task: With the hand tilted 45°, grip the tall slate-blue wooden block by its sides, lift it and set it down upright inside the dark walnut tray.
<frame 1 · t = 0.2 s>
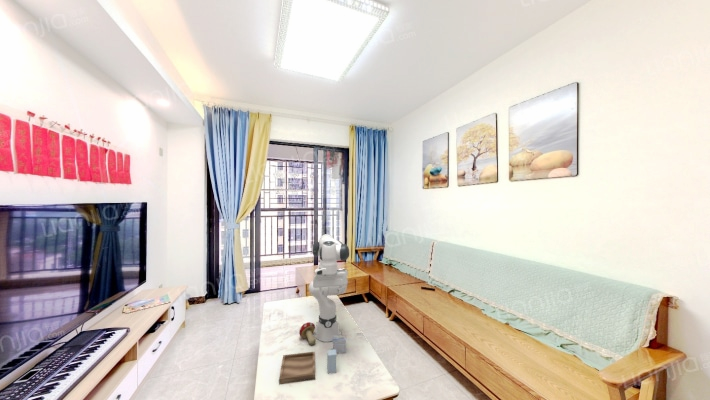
hand: (330, 293, 135), 39 cm above the table, tool pointing down, fingers open, 8 cm apart
medicine box: (339, 351, 144), on the table
walnut tray: (298, 369, 128), on the table
decorative mushroom: (308, 340, 154), on the table, touching arm
slate block: (331, 370, 128), on the table
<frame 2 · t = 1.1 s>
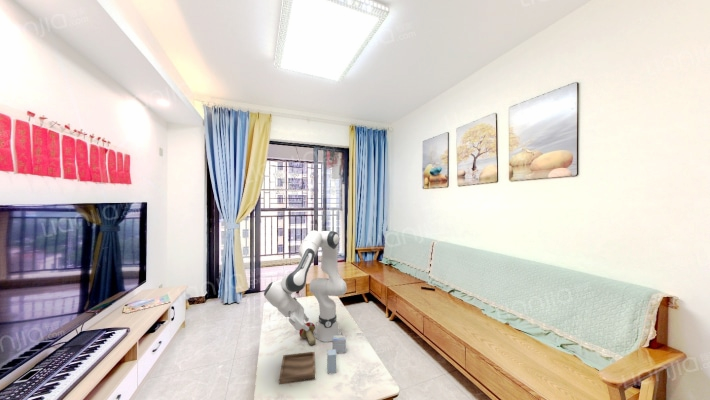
hand: (308, 324, 125), 26 cm above the table, tool tilted 45°, fingers open, 8 cm apart
nothing on the table moved.
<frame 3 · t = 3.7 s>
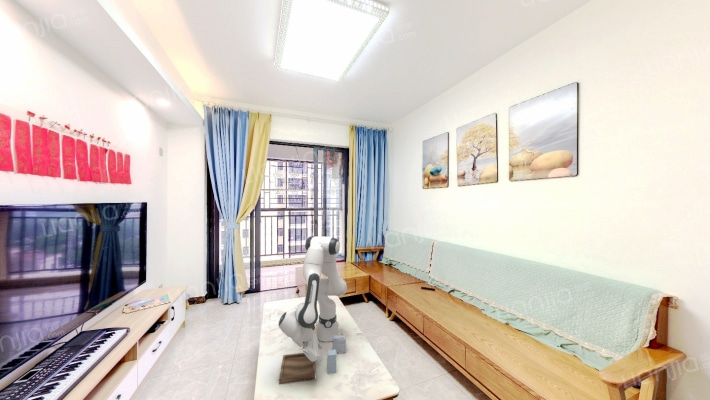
hand: (321, 353, 127), 10 cm above the table, tool tilted 45°, fingers open, 8 cm apart
nothing on the table moved.
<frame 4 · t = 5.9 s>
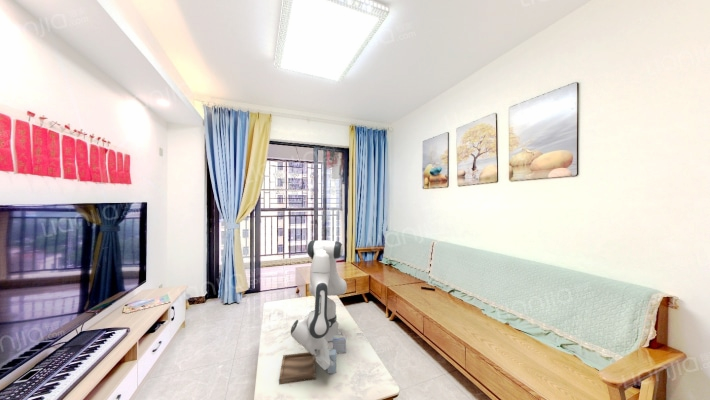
hand: (332, 360, 128), 5 cm above the table, tool tilted 45°, fingers closed on slate block, 4 cm apart
slate block: (331, 370, 128), on the table, touching gripper
everything else where it was.
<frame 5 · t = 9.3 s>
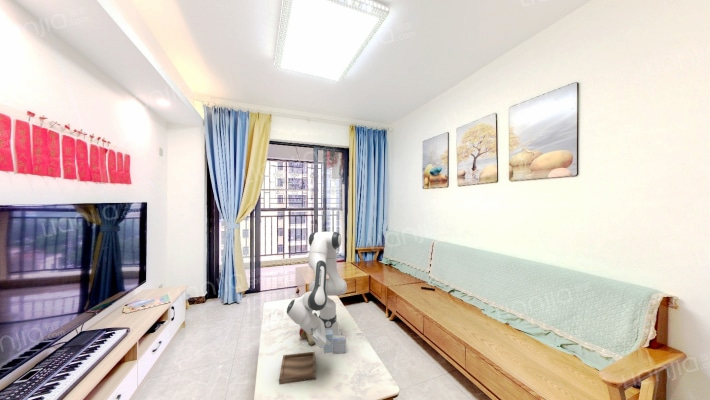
hand: (329, 340, 128), 16 cm above the table, tool tilted 45°, fingers closed on slate block, 4 cm apart
slate block: (328, 350, 128), point 11 cm above the table, touching gripper
everything else where it was.
when the fingers open (8 cm above the table, at t = 12.7 s): slate block drops 1 cm, resting on walnut tray.
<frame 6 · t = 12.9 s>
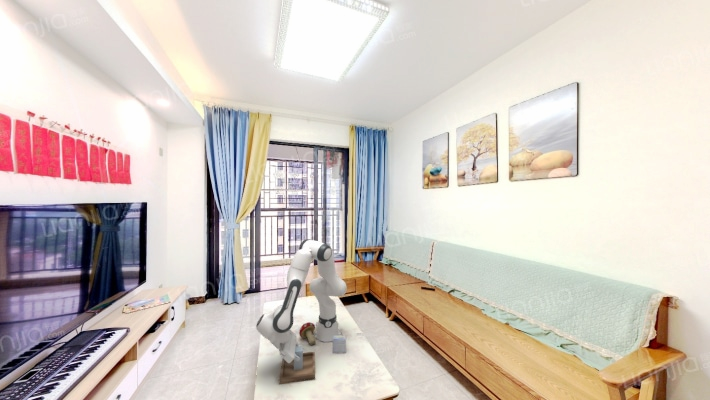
hand: (299, 354, 128), 8 cm above the table, tool tilted 45°, fingers open, 6 cm apart
slate block: (298, 366, 128), point 1 cm above the table, touching walnut tray
everything else where it was.
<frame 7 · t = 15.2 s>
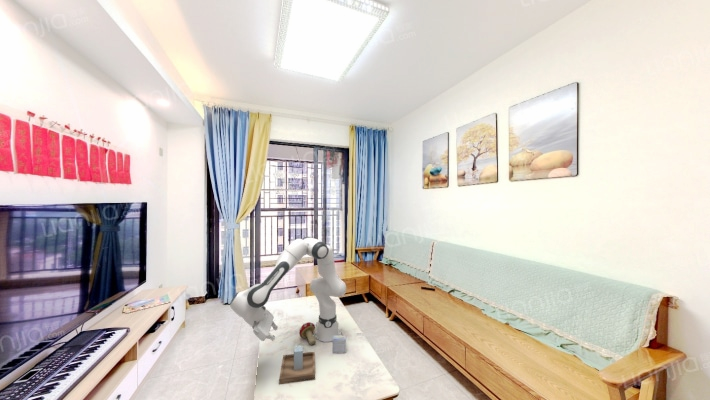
hand: (275, 333, 126), 21 cm above the table, tool tilted 45°, fingers open, 8 cm apart
nothing on the table moved.
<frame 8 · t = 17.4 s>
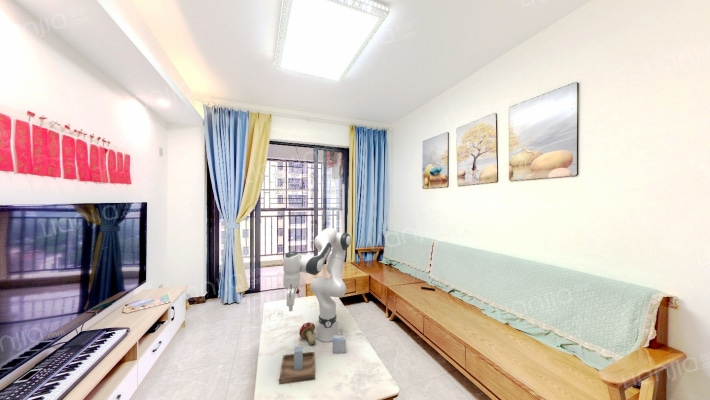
hand: (291, 306, 129), 34 cm above the table, tool pointing down, fingers open, 8 cm apart
nothing on the table moved.
at the end: slate block inside the target area on the walnut tray (0.0 cm from its centre), point 1.2 cm above the walnut tray's base; slate block tilted 0°; the gripper is holding nothing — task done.
